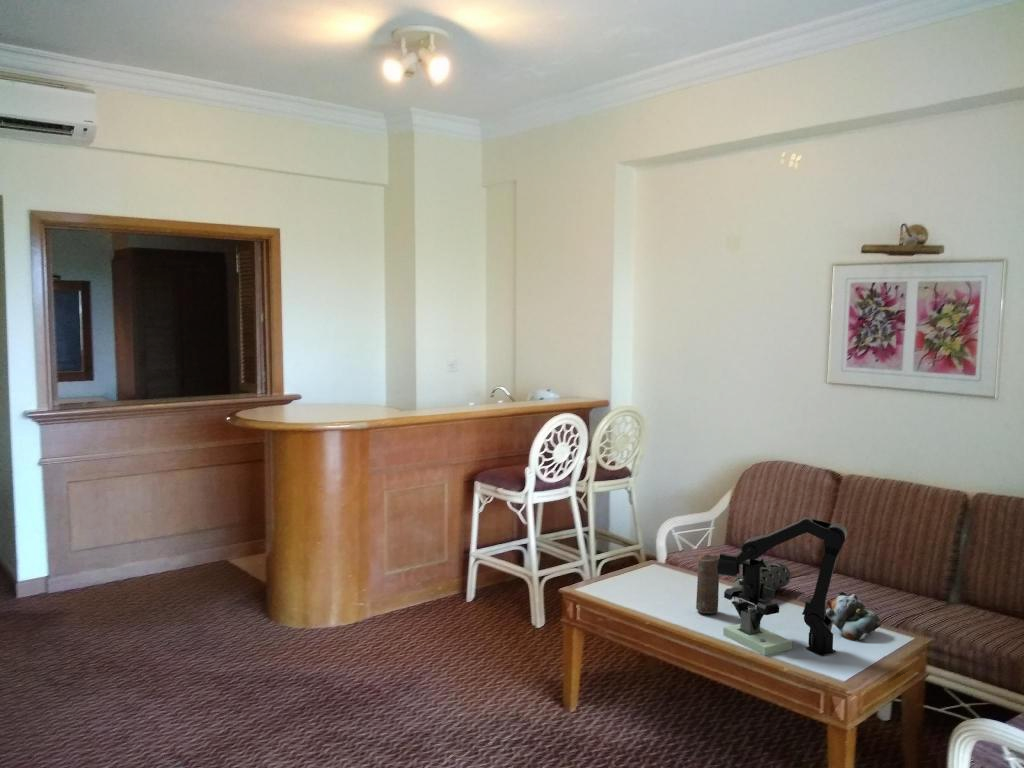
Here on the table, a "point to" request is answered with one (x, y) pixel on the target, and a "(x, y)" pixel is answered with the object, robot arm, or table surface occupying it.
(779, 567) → the muzzle brake
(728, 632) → the socket box
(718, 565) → the robot arm
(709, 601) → the brown cylinder
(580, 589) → the table surface
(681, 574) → the table surface
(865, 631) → the lucky cat figurine
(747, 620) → the block
